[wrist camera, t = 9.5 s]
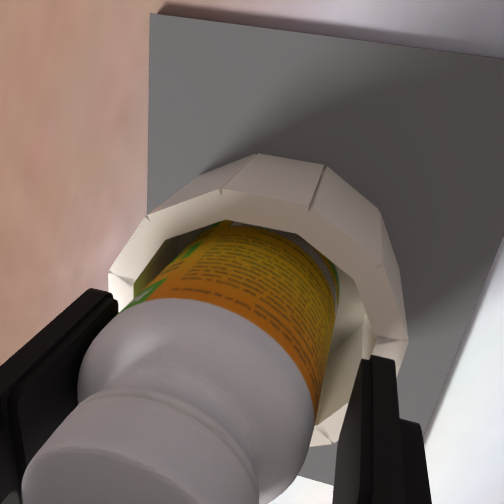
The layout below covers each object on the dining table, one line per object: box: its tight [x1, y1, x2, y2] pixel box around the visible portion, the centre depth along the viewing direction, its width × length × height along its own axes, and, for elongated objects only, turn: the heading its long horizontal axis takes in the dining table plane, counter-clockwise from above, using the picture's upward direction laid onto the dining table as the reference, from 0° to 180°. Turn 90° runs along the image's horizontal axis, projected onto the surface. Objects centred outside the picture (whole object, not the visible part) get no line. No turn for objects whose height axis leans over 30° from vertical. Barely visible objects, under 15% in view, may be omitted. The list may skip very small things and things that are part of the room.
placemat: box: [147, 13, 504, 486], centre depth 17 cm, size 18×12×1 cm, turn 173°
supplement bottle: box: [22, 219, 340, 504], centre depth 12 cm, size 5×5×10 cm
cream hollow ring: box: [108, 153, 409, 447], centre depth 15 cm, size 9×9×4 cm
